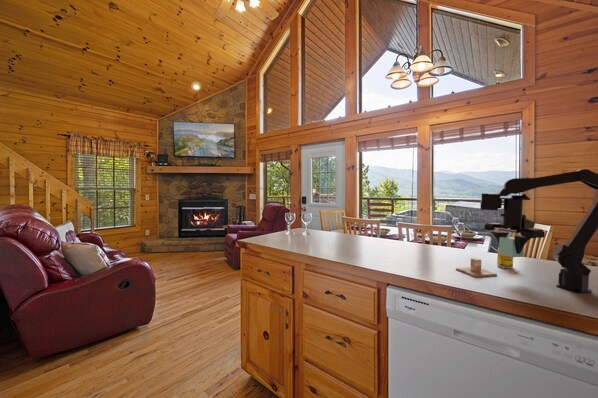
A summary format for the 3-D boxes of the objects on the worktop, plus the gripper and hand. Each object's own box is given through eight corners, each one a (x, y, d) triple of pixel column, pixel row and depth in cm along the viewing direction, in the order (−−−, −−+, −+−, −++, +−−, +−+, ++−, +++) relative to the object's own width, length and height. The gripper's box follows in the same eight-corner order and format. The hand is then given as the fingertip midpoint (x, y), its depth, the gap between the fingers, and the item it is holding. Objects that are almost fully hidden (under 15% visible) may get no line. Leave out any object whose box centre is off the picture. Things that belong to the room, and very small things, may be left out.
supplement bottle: (498, 267, 116) (498, 244, 116) (496, 264, 121) (496, 242, 121) (514, 269, 113) (515, 246, 113) (511, 266, 118) (512, 243, 118)
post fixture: (496, 275, 105) (497, 261, 105) (476, 277, 103) (476, 263, 103) (475, 268, 115) (475, 255, 115) (455, 269, 113) (456, 256, 113)
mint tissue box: (523, 256, 99) (524, 239, 98) (512, 257, 98) (513, 239, 97) (509, 253, 104) (510, 236, 103) (498, 253, 103) (499, 237, 102)
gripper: (557, 213, 93) (555, 257, 93) (505, 209, 111) (503, 245, 111) (533, 214, 90) (530, 259, 91) (483, 209, 108) (482, 246, 109)
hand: (510, 252), depth 101 cm, fingers closed on mint tissue box, 5 cm apart
